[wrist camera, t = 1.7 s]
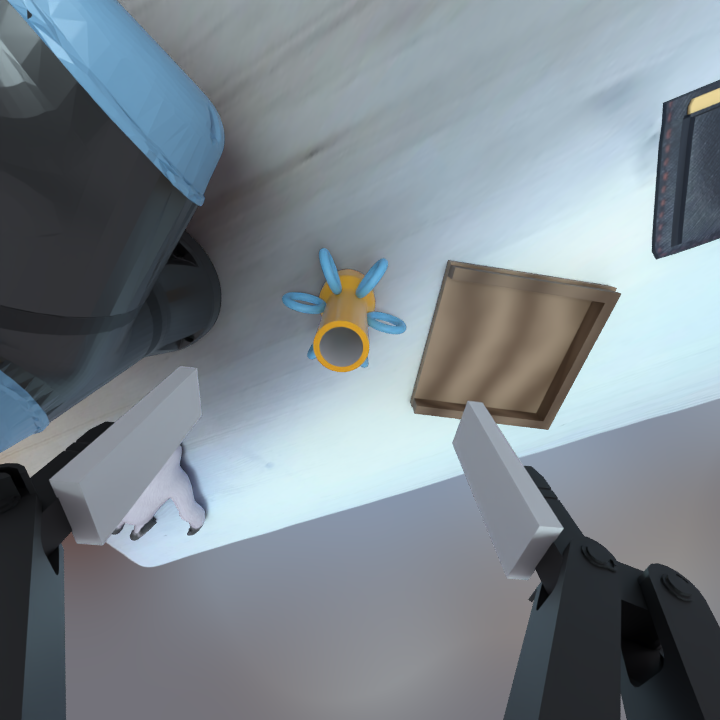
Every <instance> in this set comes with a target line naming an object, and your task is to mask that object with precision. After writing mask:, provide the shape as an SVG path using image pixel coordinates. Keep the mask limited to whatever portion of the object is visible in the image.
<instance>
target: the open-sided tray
mask: <svg viewBox="0 0 720 720" xmlns="http://www.w3.org/2000/svg"><path fill="white" fill-rule="evenodd" d="M616 289H617V288H615V287H612V286H608V285H602V284H595V283H589V282H583V281H576V280H570V279H564V278H557V277H551V276H545V275H539V274H532V273H526V272H520V271H513V270H507V269H501V268H494V267H488V266H482V265H475V264H469V263H463V262H457V261H450V260H448V264H447V267H446V271H445V275H444V278H443V282H442V286H441V290H440V293H439V297H438V301H437V305H436V308H435V312H434V316H433V320H432V323H431V327H430V331H429V334H428V338H427V342H426V346H425V349H424V353H423V357H422V361H421V364H420V368H419V372H418V375H417V379H416V383H415V387H414V390H413V394H412V398H411V402H410V403H411V406H412V407H413V410H414V413H415V414H423V415H431V416H439V417H448V418H456V419H461V418H462V415H463V412H464V410H465V407H466V404H467V401H474V402H482V403H483V404H484V406H485V407H486V409H487V410H488V412H489V413H490V415H491V416H492V418H493V420H494V421H495V423H497V424H505V425H513V426H521V427H530V428H538V429H546V430H548V429H549V427H550V425H551V424H552V422H553V420H554V418H555V416H556V414H557V412H558V411H559V409H560V407H561V405H562V403H563V401H564V399H565V398H566V396H567V394H568V392H569V390H570V388H571V386H572V385H573V383H574V381H575V379H576V377H577V375H578V373H579V372H580V370H581V368H582V366H583V364H584V362H585V360H586V359H587V357H588V355H589V353H590V351H591V349H592V347H593V346H594V344H595V342H596V340H597V338H598V336H599V334H600V333H601V331H602V329H603V327H604V325H605V323H606V321H607V320H608V318H609V316H610V314H611V312H612V310H613V308H614V307H615V305H616V303H617V301H618V299H619V297H620V295H621V293H618V292H615V291H616Z"/></svg>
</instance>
